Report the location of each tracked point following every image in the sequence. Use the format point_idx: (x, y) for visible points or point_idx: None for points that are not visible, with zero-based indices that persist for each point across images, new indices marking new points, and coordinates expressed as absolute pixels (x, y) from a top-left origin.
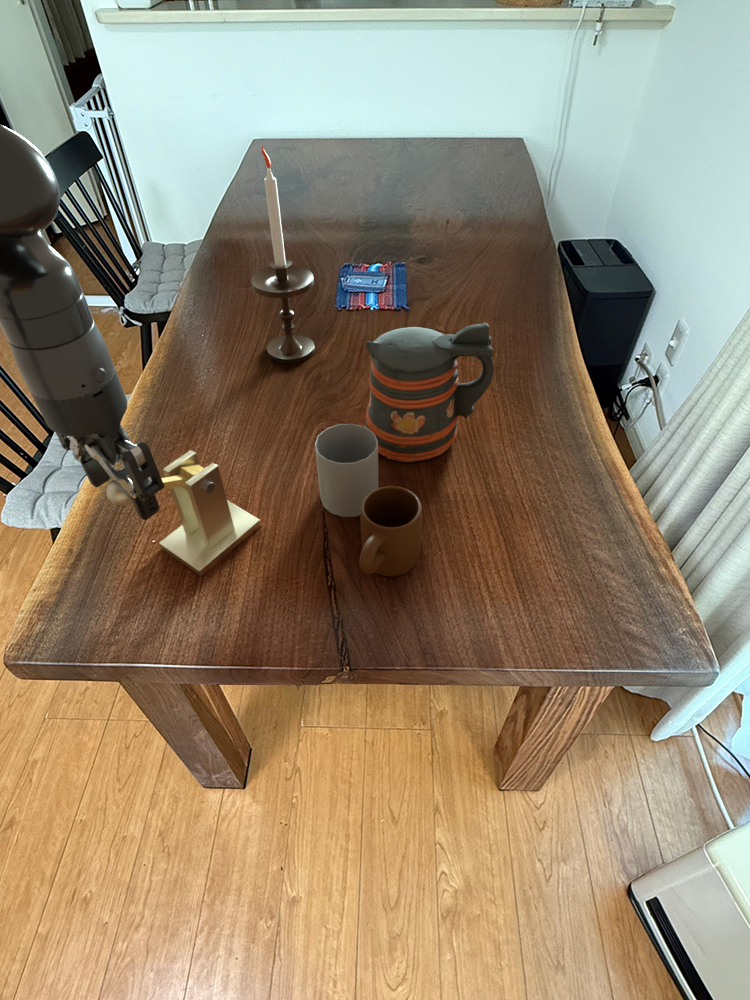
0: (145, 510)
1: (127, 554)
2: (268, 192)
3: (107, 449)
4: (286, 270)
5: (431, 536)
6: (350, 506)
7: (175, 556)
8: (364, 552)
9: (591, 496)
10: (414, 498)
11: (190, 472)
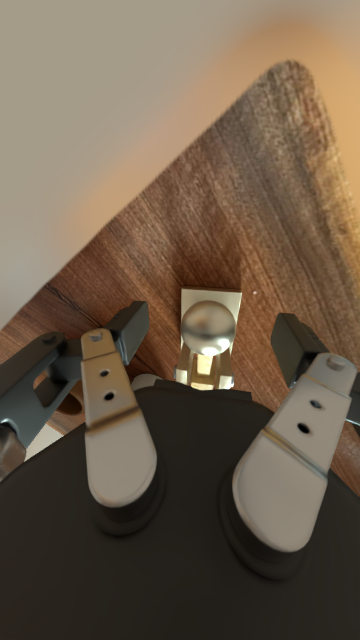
0: (117, 315)
1: (269, 266)
2: None
3: (18, 492)
4: None
5: None
6: (133, 384)
7: (216, 289)
8: None
9: (61, 422)
10: (62, 410)
11: (196, 383)
